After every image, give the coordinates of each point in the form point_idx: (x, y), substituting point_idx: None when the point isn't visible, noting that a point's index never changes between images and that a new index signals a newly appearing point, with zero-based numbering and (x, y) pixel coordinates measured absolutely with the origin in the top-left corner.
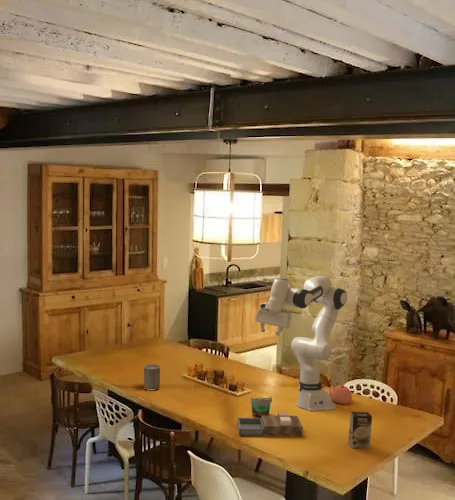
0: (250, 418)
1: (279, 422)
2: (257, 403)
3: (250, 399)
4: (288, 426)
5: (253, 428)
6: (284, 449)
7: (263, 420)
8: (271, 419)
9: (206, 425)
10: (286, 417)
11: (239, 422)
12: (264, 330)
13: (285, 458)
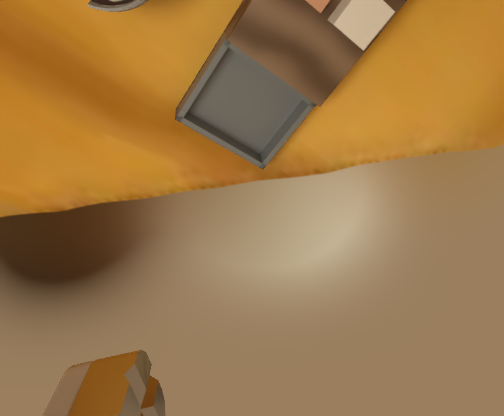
0: (206, 80)
1: (332, 28)
2: (146, 1)
3: (89, 6)
4: (384, 26)
5: (288, 131)
6: (417, 106)
7: (275, 72)
8: (288, 34)
9: (136, 193)
10: (358, 2)
11: (218, 139)
12: (139, 402)
13: (448, 142)
